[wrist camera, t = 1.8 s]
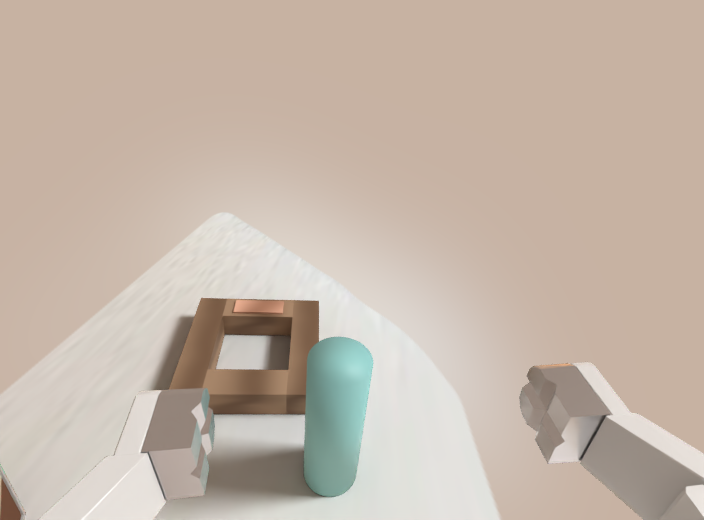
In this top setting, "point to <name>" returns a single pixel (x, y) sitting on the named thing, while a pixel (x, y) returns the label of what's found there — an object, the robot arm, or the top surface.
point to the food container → (9, 500)
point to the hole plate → (249, 385)
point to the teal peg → (335, 413)
